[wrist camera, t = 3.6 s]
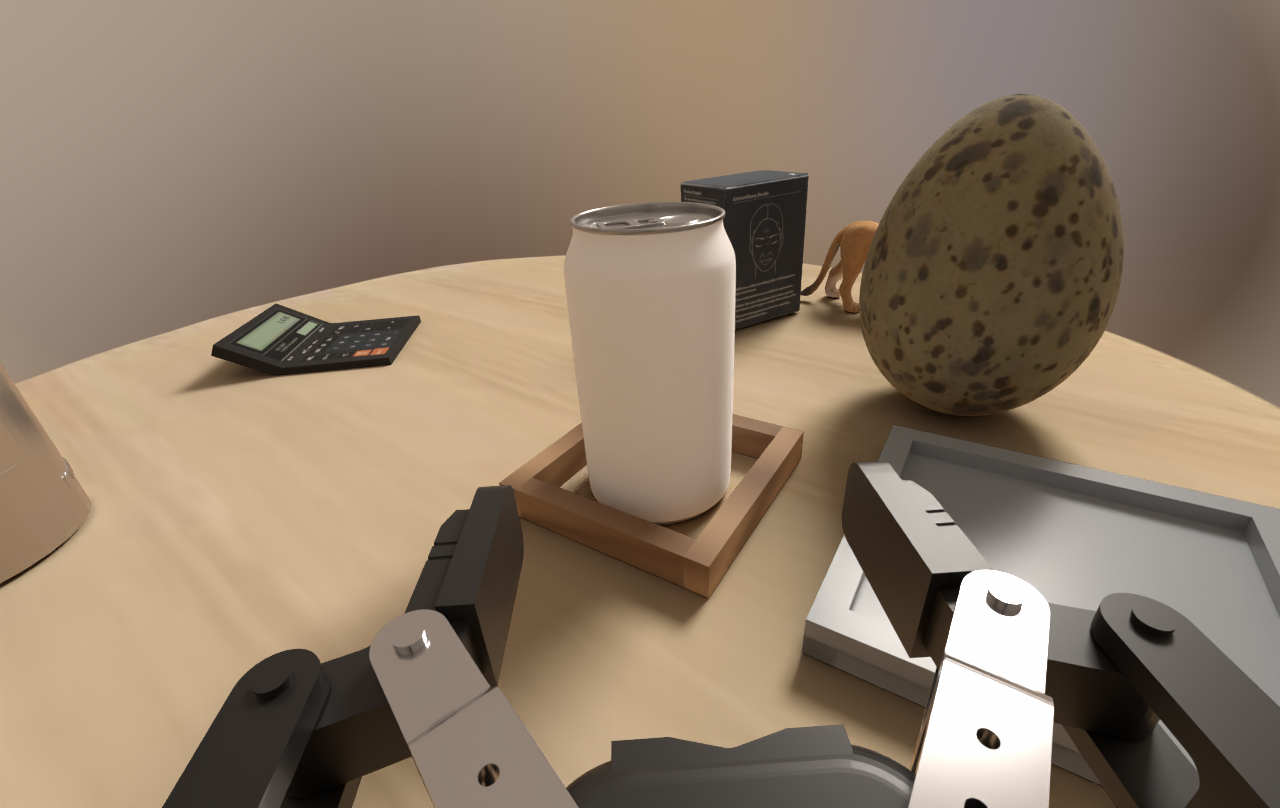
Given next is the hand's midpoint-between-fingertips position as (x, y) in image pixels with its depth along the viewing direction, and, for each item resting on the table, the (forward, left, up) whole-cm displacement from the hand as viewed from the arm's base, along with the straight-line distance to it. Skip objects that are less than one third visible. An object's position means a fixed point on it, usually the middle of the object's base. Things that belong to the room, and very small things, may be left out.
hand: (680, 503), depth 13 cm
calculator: (+11, +38, -8) cm, 40 cm away
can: (+8, +6, -7) cm, 13 cm away
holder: (+8, +6, -7) cm, 12 cm away
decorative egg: (+22, -4, -7) cm, 24 cm away
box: (+31, +12, -7) cm, 34 cm away
